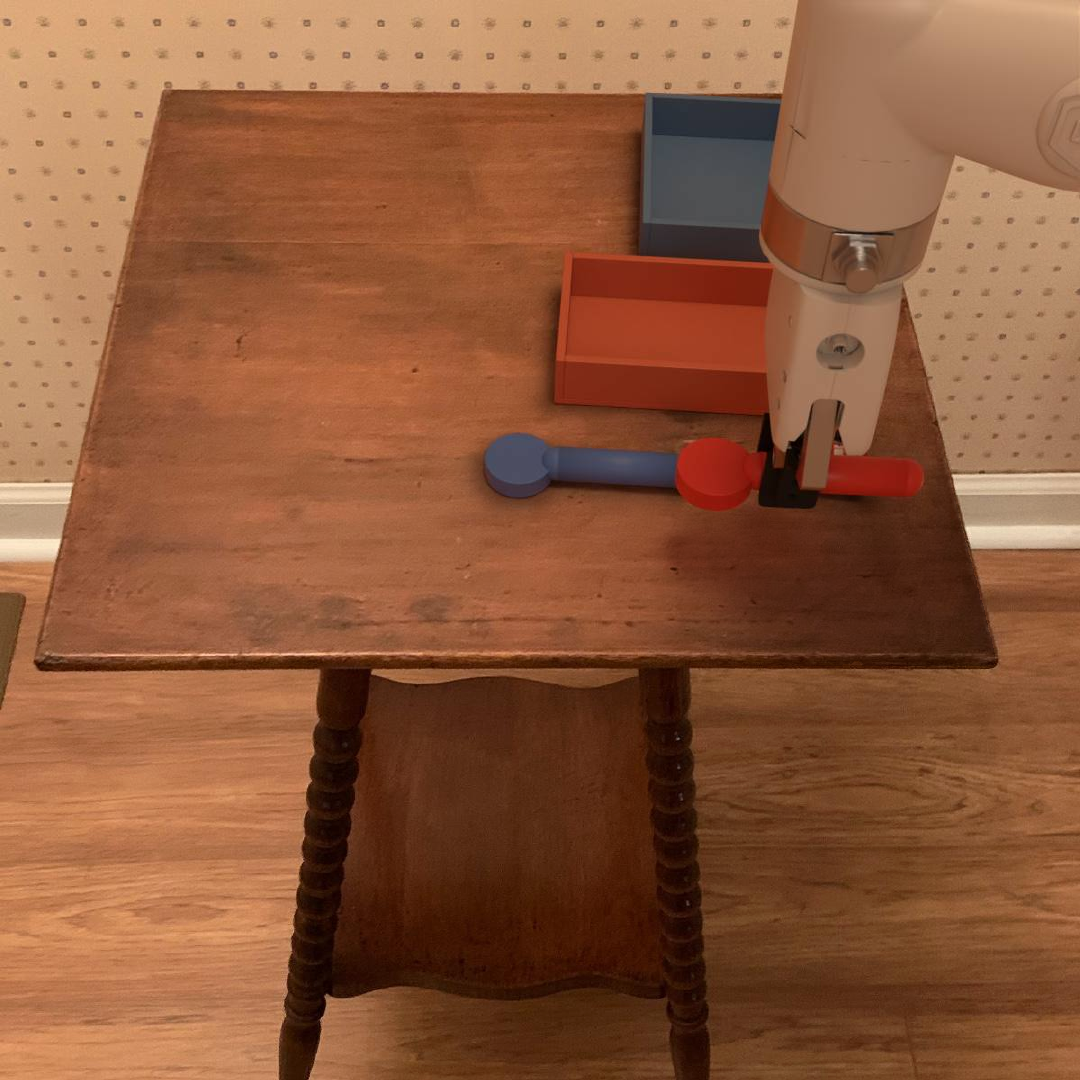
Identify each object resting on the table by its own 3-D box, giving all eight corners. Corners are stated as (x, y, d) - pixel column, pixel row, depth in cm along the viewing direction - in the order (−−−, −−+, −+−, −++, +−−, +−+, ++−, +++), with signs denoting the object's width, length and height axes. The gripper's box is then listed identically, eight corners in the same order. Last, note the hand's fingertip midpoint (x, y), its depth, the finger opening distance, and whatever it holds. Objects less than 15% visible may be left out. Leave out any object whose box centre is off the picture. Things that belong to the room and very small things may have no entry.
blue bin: (785, 142, 100) (794, 99, 97) (799, 275, 90) (810, 231, 87) (641, 135, 101) (645, 92, 97) (638, 266, 90) (642, 222, 87)
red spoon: (913, 462, 69) (922, 436, 67) (923, 521, 66) (933, 495, 64) (674, 451, 70) (677, 425, 68) (675, 509, 67) (678, 483, 65)
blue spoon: (697, 457, 78) (701, 435, 76) (698, 509, 75) (703, 486, 74) (488, 445, 78) (487, 422, 77) (481, 496, 76) (481, 473, 74)
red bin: (796, 308, 87) (807, 264, 84) (807, 418, 80) (819, 375, 77) (563, 294, 88) (564, 251, 85) (554, 403, 81) (555, 360, 78)
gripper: (959, 339, 48) (864, 602, 63) (909, 118, 58) (838, 389, 73) (773, 332, 49) (722, 595, 63) (755, 113, 59) (714, 383, 73)
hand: (784, 483), depth 68 cm, fingers closed on red spoon, 2 cm apart
